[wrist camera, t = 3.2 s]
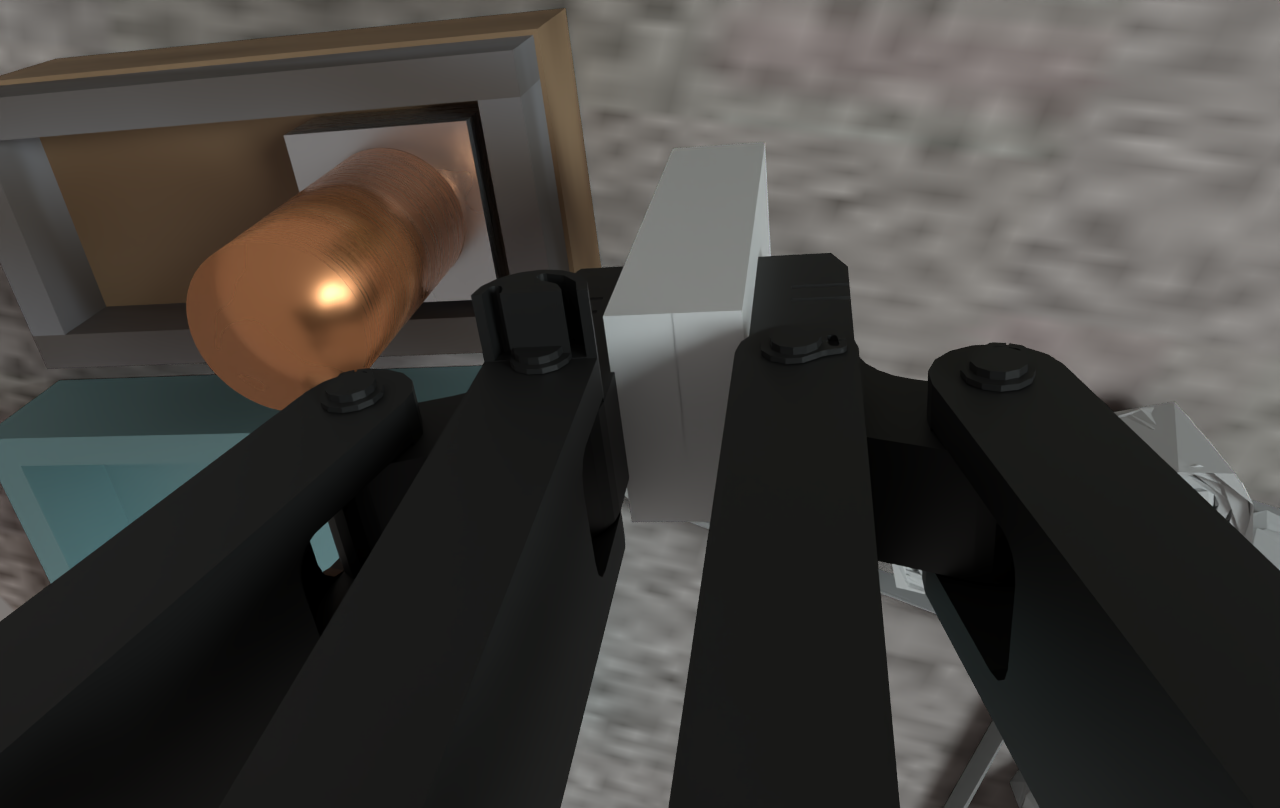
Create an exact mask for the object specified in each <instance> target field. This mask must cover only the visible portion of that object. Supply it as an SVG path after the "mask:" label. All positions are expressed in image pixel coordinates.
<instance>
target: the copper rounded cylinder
mask: <svg viewBox="0 0 1280 808" xmlns="http://www.w3.org/2000/svg"><path fill="white" fill-rule="evenodd" d="M284 139H285V142H286V146H287V150H288V153H289V157H290V160H291V164H292V167H293V171H294V175H295V178H296V182H297V185H298V189H299V193H298V194H296V195H295V196H294V197H292V198H291V199H289V200H288V201H287V202H285V203H284V204H282V205H281V206H280V207H278V208H277V209H275V210H274V211H273V212H271V213H270V214H268V215H267V216H266V217H264V218H263V219H261V220H260V221H259V222H257V223H256V224H254V225H253V226H252V227H250V228H249V229H247V230H246V231H245V232H243V233H242V234H240V235H239V236H238V237H236V238H235V239H233V240H232V241H231V242H229V243H228V244H226V245H225V246H224V247H222V248H221V249H219V250H218V251H217V252H215V253H214V254H212V255H211V256H210V257H208V258H207V259H206V260H205V261H204V262H203V263H202V264H201V265H200V266H199V268H198V269H197V271H196V272H195V274H194V276H193V278H192V280H191V282H190V285H189V289H188V292H187V300H186V313H187V320H188V325H189V328H190V332H191V335H192V338H193V340H194V342H195V345H196V347H197V348H198V350H199V352H200V354H201V356H202V357H203V358H204V360H205V361H206V363H207V364H208V366H209V367H210V368H211V369H212V370H213V371H214V372H215V374H216V375H217V376H218V377H219V378H220V379H221V380H223V381H224V382H225V383H226V384H227V385H228V386H230V387H231V388H232V389H233V390H235V391H236V392H238V393H239V394H241V395H242V396H244V397H246V398H248V399H250V400H252V401H254V402H256V403H258V404H260V405H263V406H266V407H269V408H272V409H276V410H282V409H284V408H285V407H286V406H288V405H289V404H290V403H292V402H293V401H294V400H296V399H297V398H298V397H300V396H301V395H302V394H304V393H305V392H306V391H308V390H310V389H311V388H313V387H315V386H317V385H318V384H320V383H322V382H324V381H326V380H329V379H332V378H335V377H338V375H339V374H341V373H343V372H347V371H351V370H354V371H355V372H356V371H357V369H364V368H370V367H371V366H372V364H373V363H374V362H375V361H376V359H377V358H378V357H379V356H380V355H381V353H382V352H383V351H384V350H385V348H386V347H387V346H388V345H389V343H390V342H391V341H392V340H393V339H394V337H395V336H396V335H397V334H398V332H399V331H400V330H401V329H402V328H403V326H404V325H405V324H406V323H407V321H408V320H409V319H410V318H411V316H412V315H413V314H414V313H415V312H416V310H417V309H418V308H419V307H420V305H421V304H422V303H423V302H437V301H459V300H472V299H471V295H472V294H473V293H474V292H475V291H476V290H477V289H479V288H480V287H481V286H483V285H485V284H487V283H489V282H491V281H493V280H495V279H498V278H501V277H504V276H508V275H510V274H509V268H508V263H507V257H506V252H505V247H504V241H503V236H502V230H501V225H500V219H499V214H498V209H497V203H496V198H495V192H494V187H493V182H492V176H491V171H490V165H489V160H488V155H487V149H486V144H485V138H484V133H483V127H482V122H481V117H480V111H479V106H478V104H467V105H455V106H443V107H431V108H419V109H407V110H395V111H383V112H371V113H359V114H347V115H335V116H323V117H314V118H313V119H311V120H309V121H307V122H306V123H304V124H302V125H301V126H299V127H297V128H295V129H294V130H292V131H290V132H289V133H287V134H285V135H284Z"/></svg>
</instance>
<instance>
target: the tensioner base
mask: <svg viewBox="0 0 1280 808" xmlns="http://www.w3.org/2000/svg"><path fill="white" fill-rule="evenodd" d="M467 104H478V106H479V111H480V117H481V122H482V127H483V133H484V138H485V144H486V149H487V155H488V160H489V165H490V171H491V176H492V182H493V187H494V192H495V198H496V203H497V209H498V214H499V219H500V225H501V230H502V236H503V241H504V247H505V252H506V257H507V263H508V268H509V274H510V275H512V274H515V273H519V272H526V271H534V270H564V271H568V272H572V273H576V272H577V271H578V270H580V269H586V268H601V263H600V255H599V248H598V241H597V234H596V226H595V219H594V212H593V205H592V197H591V190H590V183H589V176H588V168H587V161H586V154H585V146H584V139H583V132H582V125H581V117H580V110H579V103H578V96H577V88H576V81H575V74H574V67H573V59H572V52H571V45H570V38H569V30H568V23H567V16H566V8H562V9H552V10H542V11H532V12H522V13H512V14H502V15H492V16H482V17H471V18H461V19H451V20H441V21H431V22H421V23H411V24H401V25H391V26H381V27H371V28H361V29H351V30H341V31H331V32H321V33H311V34H301V35H290V36H280V37H270V38H260V39H250V40H240V41H230V42H220V43H210V44H200V45H190V46H180V47H170V48H160V49H150V50H140V51H130V52H119V53H109V54H99V55H89V56H79V57H69V58H59V59H54V60H50V61H47V62H44V63H40V64H37V65H34V66H31V67H27V68H24V69H21V70H18V71H14V72H11V73H8V74H4V75H1V76H0V263H1V266H2V268H3V270H4V272H5V275H6V277H7V279H8V282H9V284H10V286H11V288H12V291H13V293H14V295H15V297H16V300H17V302H18V304H19V306H20V309H21V311H22V313H23V316H24V318H25V320H26V322H27V325H28V327H29V329H30V331H31V334H32V336H33V338H34V340H35V343H36V345H37V347H38V349H39V352H40V354H41V356H42V359H43V361H44V363H45V365H46V368H47V369H53V368H80V367H107V366H135V365H162V364H189V363H206V361H205V360H204V358H203V357H202V356H201V354H200V352H199V350H198V348H197V347H196V345H195V342H194V340H193V338H192V335H191V332H190V328H189V325H188V320H187V313H186V300H187V292H188V289H189V285H190V282H191V280H192V278H193V276H194V274H195V272H196V271H197V269H198V268H199V266H200V265H201V264H202V263H203V262H204V261H205V260H206V259H207V258H208V257H210V256H211V255H212V254H214V253H215V252H217V251H218V250H219V249H221V248H222V247H224V246H225V245H226V244H228V243H229V242H231V241H232V240H233V239H235V238H236V237H238V236H239V235H240V234H242V233H243V232H245V231H246V230H247V229H249V228H250V227H252V226H253V225H254V224H256V223H257V222H259V221H260V220H261V219H263V218H264V217H266V216H267V215H268V214H270V213H271V212H273V211H274V210H275V209H277V208H278V207H280V206H281V205H282V204H284V203H285V202H287V201H288V200H289V199H291V198H292V197H294V196H295V195H296V194H298V193H299V189H298V185H297V182H296V178H295V175H294V171H293V167H292V164H291V160H290V157H289V153H288V150H287V146H286V142H285V139H284V135H285V134H287V133H289V132H290V131H292V130H294V129H295V128H297V127H299V126H301V125H302V124H304V123H306V122H307V121H309V120H311V119H313V118H314V117H323V116H335V115H347V114H359V113H371V112H383V111H395V110H407V109H419V108H431V107H443V106H455V105H467ZM461 353H483V352H482V347H481V342H480V338H479V333H478V328H477V323H476V318H475V314H474V309H473V304H472V300H459V301H437V302H423V303H422V304H421V305H420V307H419V308H418V309H417V310H416V312H415V313H414V314H413V315H412V316H411V318H410V319H409V320H408V321H407V323H406V324H405V325H404V326H403V328H402V329H401V330H400V331H399V332H398V334H397V335H396V336H395V337H394V339H393V340H392V341H391V342H390V343H389V345H388V346H387V347H386V348H385V350H384V351H383V352H382V353H381V355H380V356H407V355H434V354H461Z"/></svg>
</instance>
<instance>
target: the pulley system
mask: <svg viewBox="0 0 1280 808" xmlns="http://www.w3.org/2000/svg"><path fill="white" fill-rule="evenodd" d="M1114 413H1115V414H1116V415H1117V416H1118V417H1119V418H1120V419H1122V420H1123V421H1124V422H1125V423H1126V424H1127V425H1128V426H1129V427H1130V428H1131V429H1132V430H1133V431H1134V432H1135V433H1136V434H1137V435H1138V436H1139V437H1140V438H1141V439H1142V440H1144V441H1145V442H1146V443H1147V444H1148V445H1149V446H1150V447H1151V448H1152V449H1153V450H1154V451H1155V452H1156V453H1157V454H1158V455H1159V456H1160V457H1161V458H1162V459H1163V460H1165V461H1166V462H1167V463H1168V464H1169V465H1170V466H1171V467H1172V468H1173V469H1174V470H1175V471H1176V472H1177V473H1178V474H1179V475H1180V476H1181V477H1182V478H1183V479H1184V480H1185V481H1187V482H1188V483H1189V484H1190V485H1191V486H1192V487H1193V488H1194V489H1195V490H1196V491H1197V492H1198V493H1199V494H1200V495H1201V496H1202V497H1203V498H1204V499H1205V500H1206V501H1208V502H1209V503H1210V504H1211V505H1212V506H1213V507H1214V508H1215V509H1216V510H1217V511H1218V512H1219V513H1220V514H1221V515H1222V516H1223V517H1224V518H1225V519H1226V520H1227V521H1228V522H1230V523H1231V524H1232V525H1233V526H1234V527H1235V528H1236V529H1237V530H1238V531H1239V532H1240V533H1241V534H1242V535H1243V536H1244V537H1245V538H1246V539H1247V540H1248V541H1249V542H1251V543H1252V544H1253V545H1254V546H1255V547H1256V548H1257V549H1258V550H1259V551H1260V552H1261V553H1262V554H1263V555H1264V556H1265V557H1266V558H1267V559H1268V560H1269V561H1270V562H1271V563H1273V564H1274V565H1275V566H1276V567H1277V568H1278V569H1279V570H1280V508H1277V507H1274V506H1271V505H1268V504H1264V503H1261V502H1258V501H1254V500H1251V499H1250V497H1249V495H1248V493H1247V491H1246V489H1245V487H1244V485H1243V483H1242V482H1241V481H1240V480H1239V479H1238V477H1237V475H1236V473H1235V472H1234V471H1233V470H1232V468H1231V467H1230V466H1229V465H1228V463H1227V462H1226V461H1225V460H1224V459H1223V457H1222V456H1221V455H1220V454H1219V452H1218V451H1217V450H1216V449H1215V447H1214V446H1213V445H1212V444H1211V442H1210V441H1209V440H1208V439H1207V438H1206V436H1205V435H1204V434H1203V433H1202V432H1201V431H1200V430H1199V429H1198V427H1197V426H1196V425H1195V424H1194V423H1193V422H1192V420H1191V419H1190V418H1189V416H1188V415H1186V414H1185V413H1184V412H1183V411H1182V410H1181V408H1180V407H1179V406H1178V405H1177V404H1176V403H1175V402H1174V401H1173V402H1167V403H1162V404H1156V405H1151V406H1145V407H1140V408H1134V409H1128V410H1123V411H1117V412H1114ZM625 496H626V497H627V498H628V491H627V489H626V492H625ZM628 499H629V498H628ZM690 523H693V524H696V525H698V526H701V527H704V528H706V529H709V526H710V522H690ZM890 564H891V563H890ZM891 569H892V571H893V574H894V575H893V574H891V573H888V572H886V571H883V570H881V569H879V580H880V592H881V594H883V595H886V596H888V597H891V598H894V599H896V600H899V601H902V602H904V603H907V604H910V605H912V606H915V607H918V608H920V609H923V610H926V611H928V612H931V613H934V614H936V613H935V611H934V609H933V607H932V605H931V603H930V601H929V599H928V598H927V596H926V594H925V590H924V585H923V581H922V570H918V569H913V568H909V567H904V566H900V565H895V564H891ZM936 615H937V614H936ZM1003 742H1004V740H1003V738H1002V736H1001V735H1000V733H999V731H998V729H997V727H996V725H995V723H994V721H992V722H991V724H990V726H989V728H988V730H987V731H986V733H985V735H984V737H983V738H982V740H981V742H980V744H979V746H978V747H977V749H976V751H975V753H974V754H973V756H972V758H971V760H970V762H969V763H968V765H967V767H966V769H965V771H964V772H963V774H962V776H961V778H960V779H959V781H958V783H957V785H956V787H955V788H954V790H953V792H952V794H951V795H950V797H949V799H948V801H947V803H946V804H945V806H944V808H968V806H969V804H970V802H971V800H972V798H973V797H974V795H975V793H976V791H977V789H978V787H979V786H980V784H981V782H982V780H983V778H984V776H985V775H986V773H987V771H988V769H989V767H990V765H991V764H992V762H993V760H994V758H995V756H996V754H997V753H998V751H999V749H1000V747H1001V745H1002V744H1003ZM1010 785H1011V788H1012V790H1013V793H1014V796H1015V798H1016V801H1017V803H1018V806H1019V808H1039V806H1038V804H1037V802H1036V800H1035V798H1034V797H1033V795H1032V793H1031V791H1030V789H1029V787H1028V785H1027V783H1026V782H1025V780H1024V778H1023V776H1022V774H1021V772H1020V770H1018V771H1017V773H1016V774H1015V775H1014V777H1013V778H1012V780H1011V781H1010Z"/></svg>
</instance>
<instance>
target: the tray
mask: <svg viewBox="0 0 1280 808" xmlns="http://www.w3.org/2000/svg"><path fill="white" fill-rule="evenodd" d="M481 367H482V366H462V367H433V368H403V369H388V370H392V371H397V372H401V373H404V374H405V375H406V376H408V377H409V378H410V379H411V380H412V381H413V385H414V389H415V393H416V397H417V401H418V402H424V401H429V400H434V399H439V398H444V397H450V396H454V395H458V394H462V393H466V392H467V390H468V389H469V387H470V385H471V384H472V382H473V380H474V379H475V377H476V375H477V374H478V372H479V370H480V369H481ZM374 370H381V369H374ZM280 411H281V410H276V409H272V408H269V407H266V406H263V405H260V404H258V403H256V402H254V401H252V400H250V399H248V398H246V397H244V396H242V395H241V394H239V393H238V392H236V391H235V390H233V389H232V388H231V387H230V386H228V385H227V384H226V383H225V382H224V381H223V380H221V379H220V378H219V377H218V376H217V375H199V376H170V377H141V378H112V379H83V380H59V381H58V382H56V383H55V384H54V385H52V386H51V387H50V388H48V389H47V390H46V391H44V392H43V393H41V394H40V395H39V396H37V397H36V398H35V399H33V400H32V401H31V402H29V403H28V404H27V405H25V406H24V407H22V408H21V409H20V410H18V411H17V412H16V413H14V414H13V415H12V416H10V417H9V418H7V419H6V420H5V421H3V422H2V423H1V424H0V482H1V484H2V486H3V488H4V490H5V492H6V494H7V496H8V498H9V500H10V502H11V504H12V506H13V508H14V510H15V512H16V514H17V516H18V518H19V520H20V522H21V524H22V526H23V529H24V531H25V533H26V535H27V537H28V539H29V541H30V543H31V545H32V547H33V549H34V551H35V553H36V555H37V557H38V559H39V561H40V563H41V565H42V567H43V569H44V571H45V573H46V575H47V577H48V579H49V581H50V583H52V582H54V581H55V580H56V579H58V578H59V577H60V576H62V575H63V574H64V573H66V572H67V571H68V570H70V569H71V568H72V567H74V566H75V565H76V564H78V563H79V562H80V561H82V560H83V559H84V558H86V557H87V556H88V555H90V554H91V553H92V552H94V551H95V550H96V549H98V548H99V547H100V546H101V545H103V544H104V543H105V542H107V541H108V540H109V539H111V538H112V537H113V536H115V535H116V534H117V533H119V532H120V531H121V530H123V529H124V528H125V527H127V526H128V525H129V524H131V523H132V522H133V521H135V520H136V519H137V518H139V517H140V516H141V515H143V514H144V513H145V512H147V511H148V510H149V509H151V508H152V507H153V506H155V505H156V504H157V503H159V502H160V501H161V500H163V499H164V498H165V497H167V496H168V495H169V494H171V493H172V492H173V491H175V490H176V489H177V488H179V487H180V486H181V485H183V484H184V483H185V482H187V481H188V480H189V479H191V478H192V477H193V476H195V475H196V474H197V473H199V472H200V471H201V470H203V469H204V468H205V467H207V466H208V465H209V464H211V463H212V462H213V461H215V460H216V459H217V458H218V457H220V456H221V455H222V454H224V453H225V452H226V451H228V450H229V449H230V448H232V447H233V446H234V445H236V444H237V443H238V442H240V441H241V440H242V439H244V438H245V437H246V436H248V435H249V434H250V433H252V432H253V431H254V430H256V429H257V428H258V427H260V426H261V425H262V424H264V423H265V422H266V421H268V420H269V419H270V418H272V417H273V416H274V415H276V414H277V413H278V412H280ZM310 542H311V545H312V548H313V551H314V554H315V557H316V560H317V563H318V566H319V567H320V569H321V570H322V572H323V571H325V570H326V569H328V568H330V567H331V566H332V565H333V564H334V563H335V562H336V561H337V560H338V559H339V555H338V552H337V549H336V546H335V543H334V540H333V537H332V533H331V530H330V527H329V524H328V522H327V523H326V524H325V525H324V526H323V527H322V528H321V529H320V530H318V531H317V532H316V533H315V535H314V536H313V537H312V539H311V540H310Z"/></svg>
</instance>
